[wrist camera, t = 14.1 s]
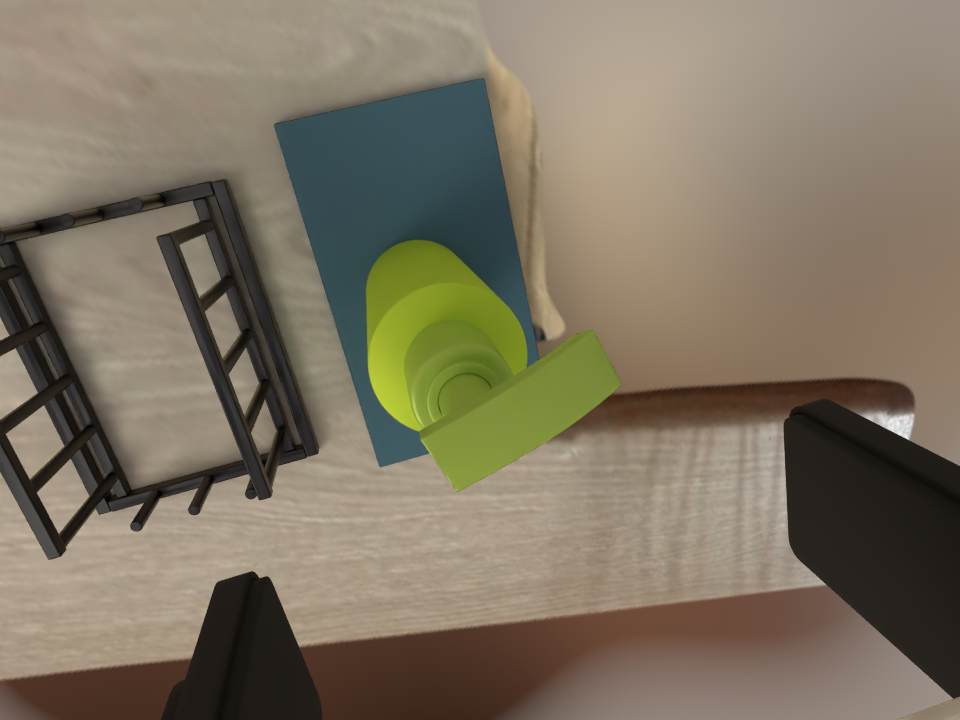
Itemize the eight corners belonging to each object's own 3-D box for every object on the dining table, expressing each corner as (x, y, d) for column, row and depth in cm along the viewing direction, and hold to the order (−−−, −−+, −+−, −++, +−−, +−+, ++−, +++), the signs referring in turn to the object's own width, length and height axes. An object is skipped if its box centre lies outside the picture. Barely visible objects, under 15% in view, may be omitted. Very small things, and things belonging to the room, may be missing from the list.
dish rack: (-31, 236, 31) (-157, 259, 23) (226, 177, 32) (185, 181, 24) (104, 509, 36) (36, 599, 29) (319, 449, 37) (309, 520, 30)
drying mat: (275, 124, 32) (273, 124, 31) (482, 79, 33) (484, 77, 32) (379, 463, 38) (379, 467, 38) (548, 415, 39) (551, 419, 39)
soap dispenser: (504, 298, 36) (659, 447, 17) (402, 361, 36) (446, 578, 17) (452, 209, 34) (565, 266, 15) (345, 275, 34) (323, 415, 15)
